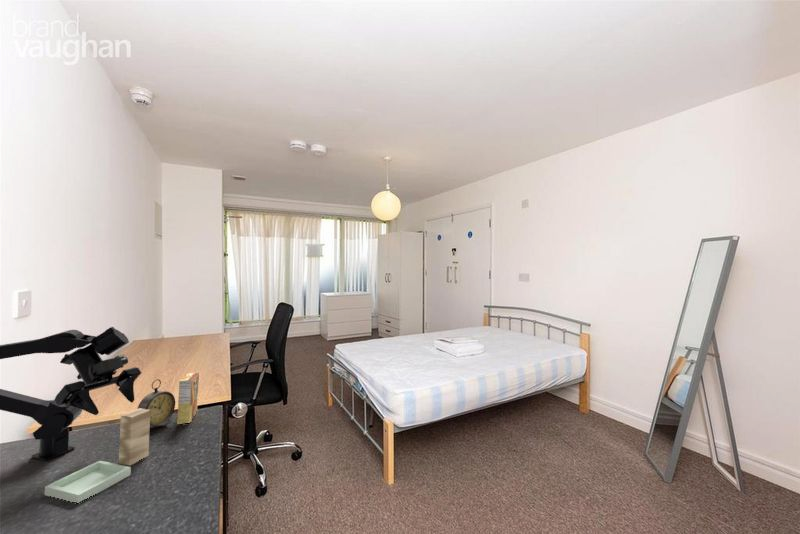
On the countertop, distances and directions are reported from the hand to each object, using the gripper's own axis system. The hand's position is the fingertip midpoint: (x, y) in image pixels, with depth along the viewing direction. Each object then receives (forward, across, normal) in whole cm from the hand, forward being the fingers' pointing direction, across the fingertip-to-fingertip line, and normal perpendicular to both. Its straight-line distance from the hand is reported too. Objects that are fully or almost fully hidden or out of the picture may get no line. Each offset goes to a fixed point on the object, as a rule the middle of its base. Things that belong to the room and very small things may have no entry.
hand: (115, 407), depth 92 cm
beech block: (+15, 0, +4) cm, 16 cm away
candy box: (+9, +24, +10) cm, 28 cm away
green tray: (+16, -11, +4) cm, 19 cm away
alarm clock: (+6, +16, +14) cm, 22 cm away
